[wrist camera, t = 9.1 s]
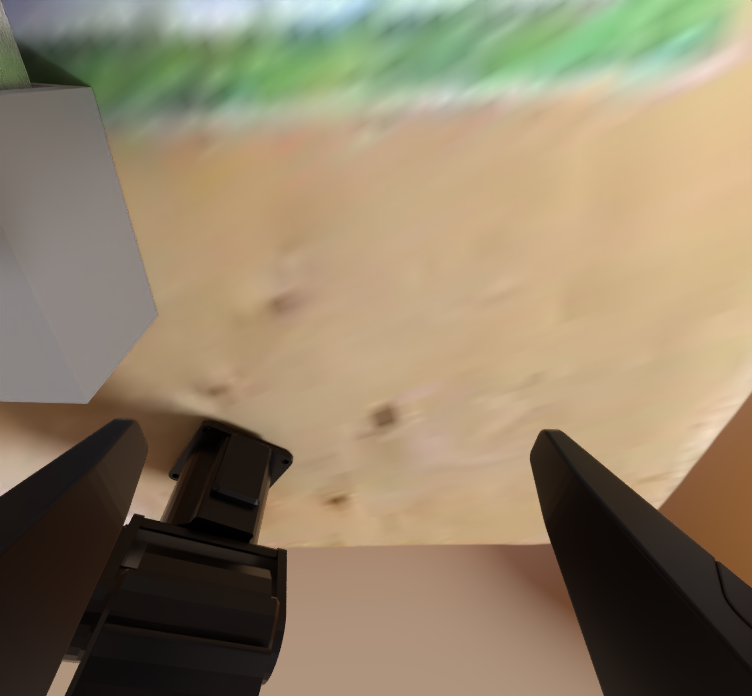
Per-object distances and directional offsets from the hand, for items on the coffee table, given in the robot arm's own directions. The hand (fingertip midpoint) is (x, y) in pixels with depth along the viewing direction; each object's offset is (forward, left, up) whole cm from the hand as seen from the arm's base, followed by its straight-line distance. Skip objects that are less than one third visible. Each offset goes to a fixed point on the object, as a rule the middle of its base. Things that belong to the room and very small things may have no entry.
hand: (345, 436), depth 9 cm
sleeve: (-7, +12, -12) cm, 18 cm away
